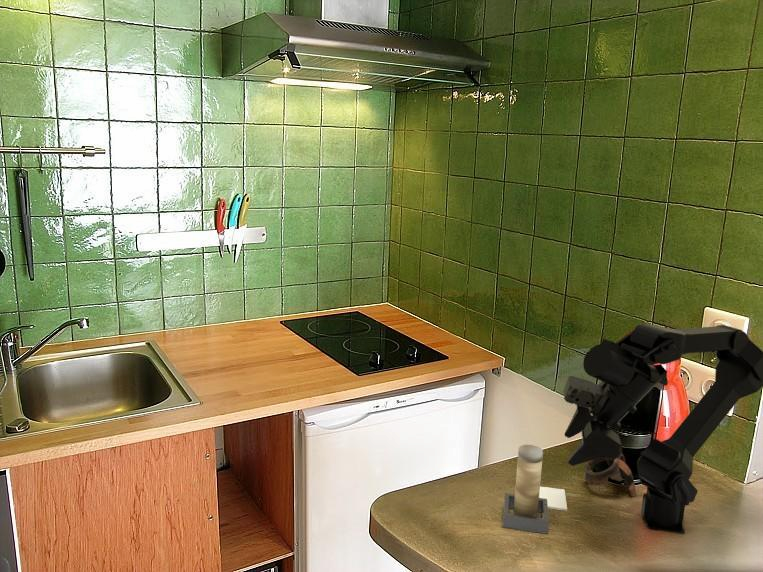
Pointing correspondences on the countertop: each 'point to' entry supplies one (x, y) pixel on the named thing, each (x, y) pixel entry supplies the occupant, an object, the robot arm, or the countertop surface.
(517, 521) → the metal holder
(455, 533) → the countertop surface
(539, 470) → the beige cylinder grey cap
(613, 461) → the pottery mug
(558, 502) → the off-white pad
